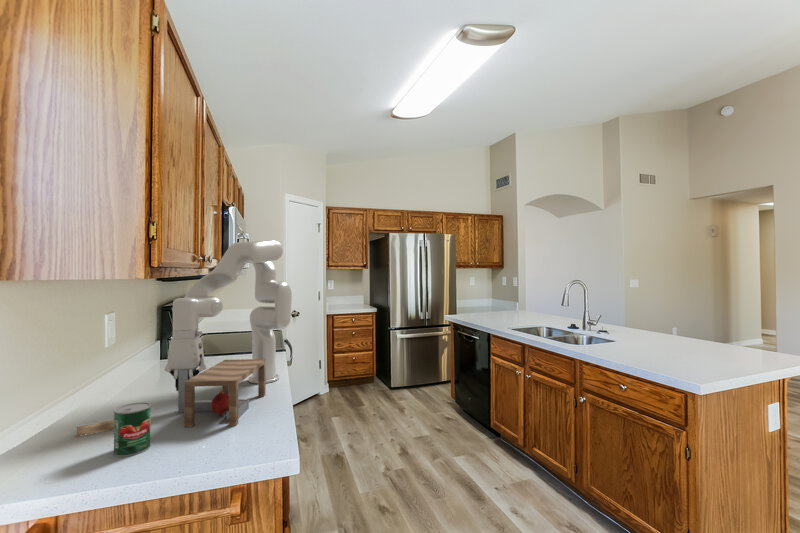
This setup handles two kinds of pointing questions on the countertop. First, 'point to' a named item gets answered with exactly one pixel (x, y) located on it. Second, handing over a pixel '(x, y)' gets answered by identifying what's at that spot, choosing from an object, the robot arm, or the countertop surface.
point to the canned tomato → (132, 429)
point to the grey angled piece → (202, 404)
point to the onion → (220, 403)
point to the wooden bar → (95, 428)
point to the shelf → (224, 384)
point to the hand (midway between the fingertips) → (185, 389)
